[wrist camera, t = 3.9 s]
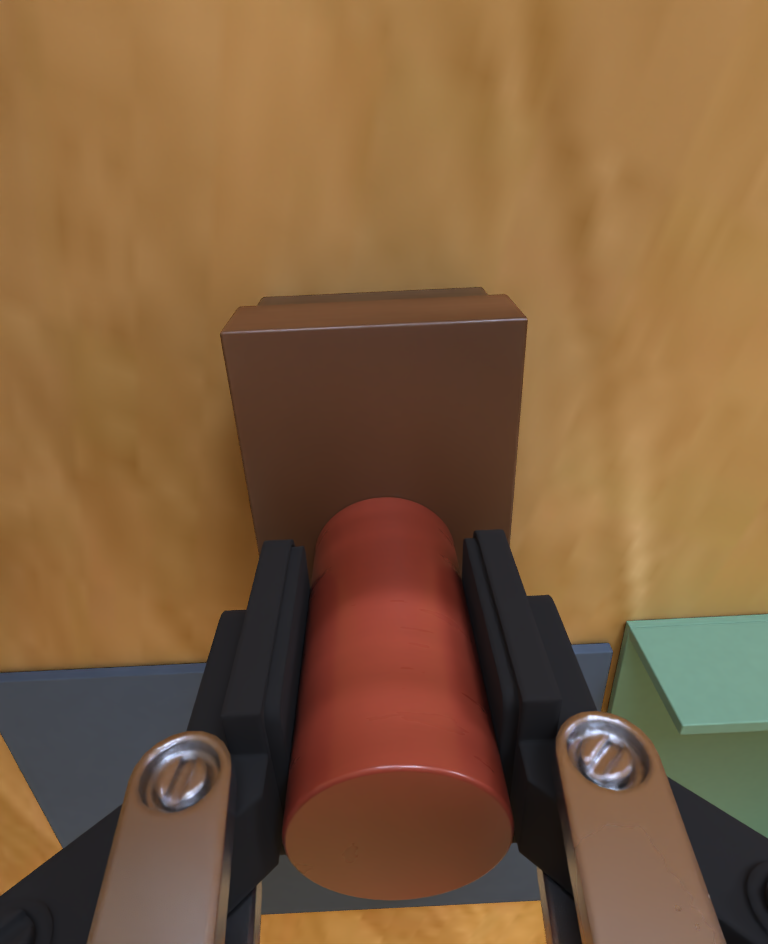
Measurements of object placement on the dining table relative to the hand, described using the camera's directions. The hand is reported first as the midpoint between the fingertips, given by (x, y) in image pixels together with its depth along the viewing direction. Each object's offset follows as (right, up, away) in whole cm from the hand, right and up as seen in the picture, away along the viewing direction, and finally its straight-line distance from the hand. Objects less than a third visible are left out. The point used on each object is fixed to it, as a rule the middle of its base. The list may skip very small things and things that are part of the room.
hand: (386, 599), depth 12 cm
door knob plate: (0, +2, +4) cm, 5 cm away
